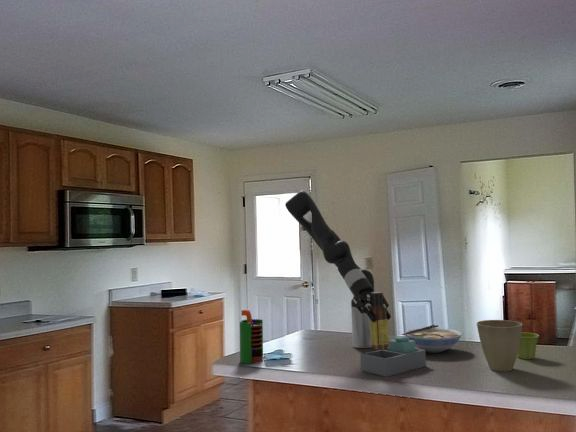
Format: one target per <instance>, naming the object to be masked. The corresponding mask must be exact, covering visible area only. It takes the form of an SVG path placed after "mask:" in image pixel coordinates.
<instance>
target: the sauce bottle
mask: <svg viewBox="0 0 576 432" xmlns="http://www.w3.org/2000/svg"><path fill="white" fill-rule="evenodd" d="M371 296H372V307H371V311H373V312H374V314H375V315H376V317H377V320H376V322H372V321H371V320H370V330H371V344H372V347H371V348H372V349H373V350H376V351H377V350H385V349H388V348H389V341H390V337H389V323H388V321H389V320H388V319H387V311H386V309H385V307H384V305H385V304H384V305H383V298H382V297H383V296H384V293H383V292H382V291H374V292H372V293H371Z"/></svg>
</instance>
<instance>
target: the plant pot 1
mask: <svg viewBox="0 0 576 432" xmlns="http://www.w3.org/2000/svg"><path fill="white" fill-rule="evenodd" d="M476 327H477V333H478V338H479V341H480V342H479V343H480V344H481V349H482V352H483V354H484V358H485V360H486V363H487V364H488V368H489V369H490V370H492V371H495V372H502V373H503V372H505V373H507V372H510V371H513V369H514V366H515V364H516V361H517V358H518V357H517V354H518V350H519V345H520V340H521V332H522V331H523V323H522V322H520V321H515V320H506V319H486V320H485V319H484V320H479V321H476Z"/></svg>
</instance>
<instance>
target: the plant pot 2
mask: <svg viewBox="0 0 576 432" xmlns="http://www.w3.org/2000/svg"><path fill="white" fill-rule="evenodd" d="M539 337H540V335H539V334H537V333H533V332H524V331H523V332H521V340H520V345H519V350H518V354H517V357H516V358H518V359H519V358H520V359H521V360H531V359H536V351H537V343H538V340H539Z"/></svg>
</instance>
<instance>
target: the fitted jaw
mask: <svg viewBox="0 0 576 432" xmlns="http://www.w3.org/2000/svg"><path fill="white" fill-rule="evenodd" d="M389 348H390V351H393V352H398V353H403V354H406V353H411V352H415V348H416V347H415V341H413V340H409V337H406V335H399V336H398V335H397V336H394V339H391V340H390V339H389Z"/></svg>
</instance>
